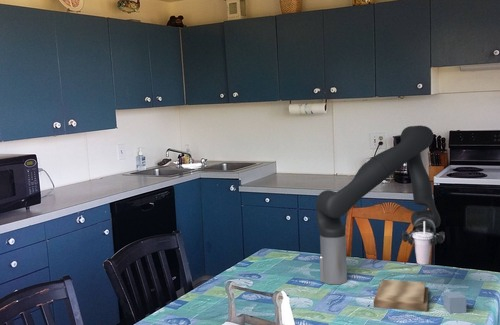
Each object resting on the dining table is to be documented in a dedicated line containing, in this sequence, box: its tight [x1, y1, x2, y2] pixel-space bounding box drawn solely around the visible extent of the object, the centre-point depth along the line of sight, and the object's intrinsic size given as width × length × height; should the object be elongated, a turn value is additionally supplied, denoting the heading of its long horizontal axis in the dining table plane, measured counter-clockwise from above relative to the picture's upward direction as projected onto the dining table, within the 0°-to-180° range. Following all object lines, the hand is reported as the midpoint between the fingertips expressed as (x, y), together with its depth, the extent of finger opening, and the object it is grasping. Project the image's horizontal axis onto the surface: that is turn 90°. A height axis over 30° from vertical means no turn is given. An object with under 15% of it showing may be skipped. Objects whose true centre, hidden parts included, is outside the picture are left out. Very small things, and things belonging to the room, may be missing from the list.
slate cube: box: [442, 290, 467, 315], centre depth 160 cm, size 5×5×5 cm
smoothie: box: [412, 221, 433, 266], centre depth 171 cm, size 6×6×14 cm
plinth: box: [373, 279, 430, 313], centre depth 170 cm, size 16×16×4 cm
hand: (421, 242), depth 169 cm, fingers closed on smoothie, 6 cm apart
